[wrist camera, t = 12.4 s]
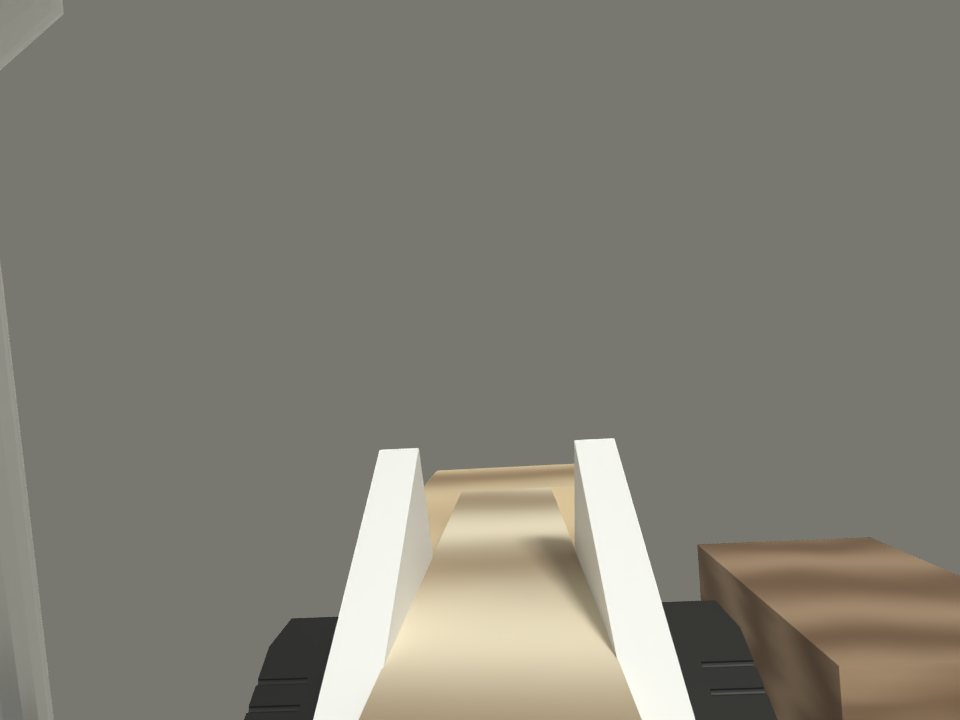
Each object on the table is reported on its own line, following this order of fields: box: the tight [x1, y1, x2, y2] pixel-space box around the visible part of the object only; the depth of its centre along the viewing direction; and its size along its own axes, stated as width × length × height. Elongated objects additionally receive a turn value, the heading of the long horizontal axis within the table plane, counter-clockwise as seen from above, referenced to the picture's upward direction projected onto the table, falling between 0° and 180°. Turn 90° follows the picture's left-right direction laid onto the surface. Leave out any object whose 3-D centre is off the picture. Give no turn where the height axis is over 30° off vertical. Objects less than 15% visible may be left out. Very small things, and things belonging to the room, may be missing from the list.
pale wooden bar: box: [359, 464, 642, 720], centre depth 16 cm, size 25×6×3 cm, turn 177°
